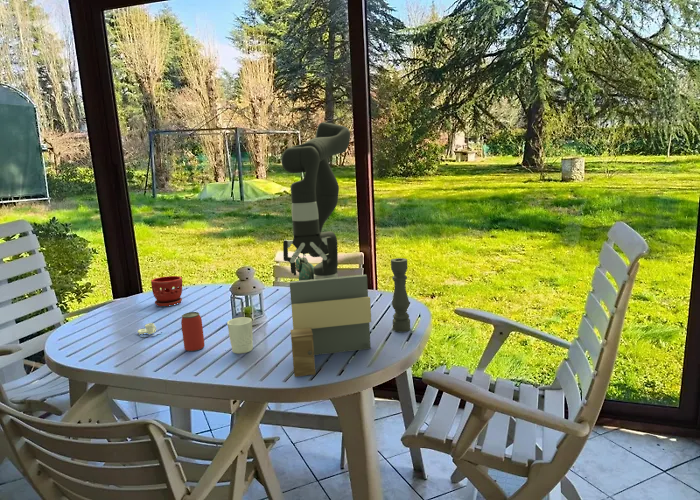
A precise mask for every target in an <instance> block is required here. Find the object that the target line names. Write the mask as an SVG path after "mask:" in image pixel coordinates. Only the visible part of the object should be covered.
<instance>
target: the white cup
mask: <svg viewBox="0 0 700 500" xmlns="http://www.w3.org/2000/svg"><path fill="white" fill-rule="evenodd" d="M226 325H227V329H228V336H229V340H230V341H229V342H230V346H231V352H232V353H233V354H238V355H239V354H240V355H241V354H246V353H249V352H251V351H252V350H253V349H254V346H253V345H254V343H253V341H254V339H253V338H254V337H253V335H254V334H253V319H252V318H250V317H247V316H246V317H245V316H242V317H241V316H240V317H235V318H232V319H229V320H228V321H227V323H226Z"/></svg>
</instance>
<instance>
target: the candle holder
mask: <svg viewBox="0 0 700 500" xmlns="http://www.w3.org/2000/svg"><path fill="white" fill-rule="evenodd" d="M390 269H391V272H392V275H393V276H391V279H392V281H393V283H394V290H393V295H392V299H391V306H392V309H393V310H394V313H393V315H392V318H393V319H392V330H393V331H394V332H397V333H405V332H409V331H411V319H410V314H408V309H409V307H410V299H409V296H408V293H407V288H406V281H407V279H408V276H407V275H406V273H407V271H408V258H403V257H399V258H398V257H397V258H393V259H391V260H390Z"/></svg>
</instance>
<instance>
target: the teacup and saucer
mask: <svg viewBox="0 0 700 500" xmlns="http://www.w3.org/2000/svg"><path fill="white" fill-rule="evenodd" d="M144 326H145V328H140V329H138V330H137V334H138V333H139V334H138V335H140V334H144V333H148V334H152V333H154V334H155V332H156V330H157V326H156V325H155V323H154V322H149V323H146V324H145V325H144ZM148 334H147V335H148ZM144 335H145V334H144ZM152 335H153V334H152Z"/></svg>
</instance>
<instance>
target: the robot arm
mask: <svg viewBox="0 0 700 500" xmlns="http://www.w3.org/2000/svg"><path fill="white" fill-rule="evenodd" d="M350 140H351V131H350V129H349V128H348V127H347V126H345V125H341V124H336V123H331V122H324V121H321V122H319V124H318V126H317V128H316V132H315V137H314V138H311V139H309V140H307V141H306V142H304V143H302V144H297V145H293V146H290V147H287V148H286V149H284V151H283V153H282V155H281V166H282V168H283V169H284V170H285V171H286V172H287V173H290V174H299V173H300V174H301V173H304V176H303V178H302V179H301V180H298V181H295V182H292V184H290V196H291V197H290V198H291V199H290V200H291V221H292V222H291V223H292V232H293V239H291V240H288V239H286V238H285V239H284V240H283V242H282V249H283V250H282V253H283V257H282V258H283V261H284V262H289V264H290V273H291V274H293V276H297V271H296V259H297V258H298V256H300V254H302V255H303V254H305V255H306V254H308V255H309V256H311V257H312V258H321V259H322V260H321V262H319V263H316V265H313V266H314V269H313V271H314V279H323V278H333V277H339V275H338V265H339V262H338V256H339V255H338V254H339V253H338V251H339V250H338V239H337V236H336V233H335V232H334V231H331V230H329V231H323V230H322V229H323V227H324V225H325V223H326V221H327V220H328V219H329V217H330V216H331V215H332V214H333V212H334V211H335V209H336V208H337V205H338V200H339V194H340V193H339V192H340V191H339V190H340V186H339V183H338V180H337V178H336V176H335V174H334V172H333V170H332V168H331V166H330V163H329V159H328V158H329V157H332V156H335V155H339V154H343V153H345V152H346V151H347V149H348V147H349V144H350ZM291 245H293V246H294V247H295V251H294V252H293V254H292V255H291V256H289V249H290V248H291Z"/></svg>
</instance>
